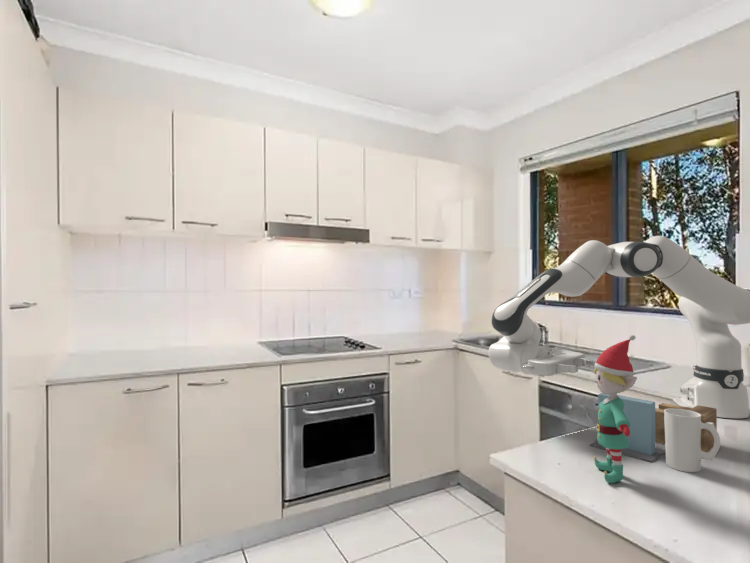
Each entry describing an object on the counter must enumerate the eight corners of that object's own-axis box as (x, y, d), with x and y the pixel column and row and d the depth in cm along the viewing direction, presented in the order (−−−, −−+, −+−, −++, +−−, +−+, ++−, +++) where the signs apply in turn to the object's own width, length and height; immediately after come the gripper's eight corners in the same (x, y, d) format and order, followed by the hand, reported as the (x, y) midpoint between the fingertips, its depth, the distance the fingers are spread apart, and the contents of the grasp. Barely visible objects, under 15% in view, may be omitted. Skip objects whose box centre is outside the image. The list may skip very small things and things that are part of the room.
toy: (586, 459, 103) (584, 330, 103) (623, 462, 101) (621, 330, 101) (608, 494, 86) (606, 339, 86) (653, 498, 84) (651, 340, 84)
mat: (590, 445, 112) (590, 443, 112) (607, 436, 118) (607, 435, 118) (651, 462, 101) (651, 460, 101) (667, 451, 107) (667, 450, 107)
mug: (661, 466, 98) (660, 412, 99) (668, 458, 103) (667, 406, 103) (718, 480, 91) (717, 422, 92) (722, 470, 96) (722, 415, 96)
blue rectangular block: (598, 441, 114) (598, 394, 114) (604, 438, 115) (603, 392, 115) (650, 455, 104) (650, 403, 104) (655, 452, 106) (655, 401, 106)
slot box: (648, 440, 115) (648, 405, 115) (663, 432, 121) (662, 399, 121) (704, 454, 105) (703, 416, 106) (716, 444, 112) (716, 408, 112)
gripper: (517, 354, 123) (565, 360, 113) (555, 346, 136) (602, 350, 125) (518, 377, 123) (566, 385, 113) (556, 366, 136) (602, 372, 125)
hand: (585, 366), depth 119 cm, fingers open, 8 cm apart
